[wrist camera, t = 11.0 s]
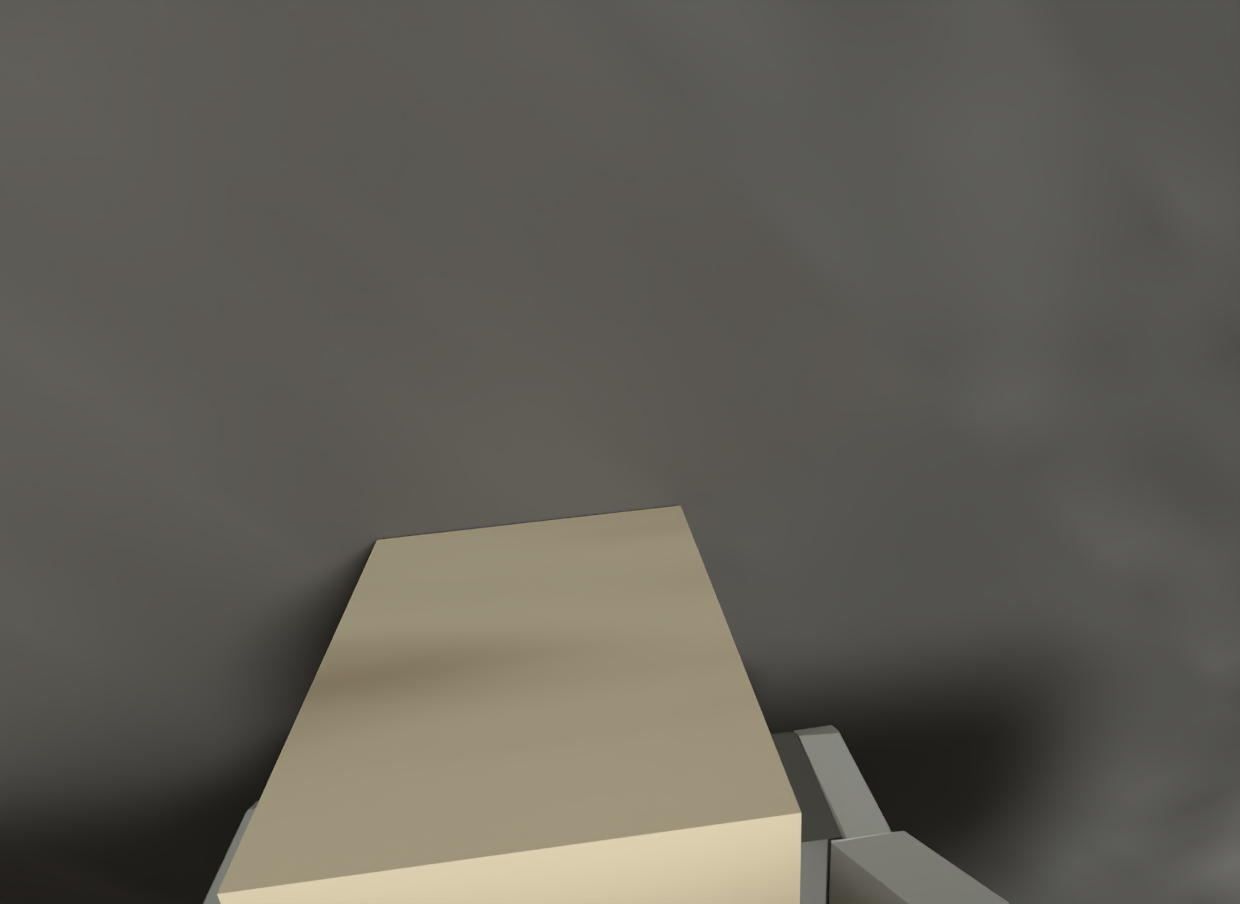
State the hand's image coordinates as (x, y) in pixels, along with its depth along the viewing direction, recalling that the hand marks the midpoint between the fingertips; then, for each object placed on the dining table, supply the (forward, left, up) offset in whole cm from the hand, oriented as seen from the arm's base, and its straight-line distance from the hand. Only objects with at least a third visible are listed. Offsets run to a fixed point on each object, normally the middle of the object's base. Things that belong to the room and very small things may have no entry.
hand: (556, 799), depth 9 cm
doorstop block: (0, 0, -2) cm, 2 cm away
